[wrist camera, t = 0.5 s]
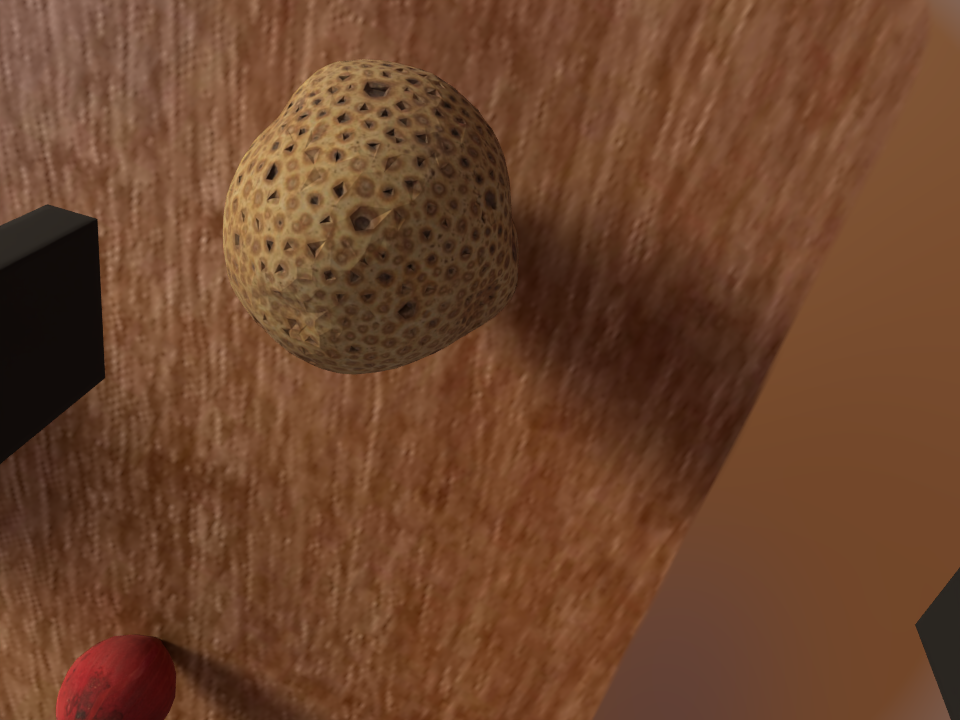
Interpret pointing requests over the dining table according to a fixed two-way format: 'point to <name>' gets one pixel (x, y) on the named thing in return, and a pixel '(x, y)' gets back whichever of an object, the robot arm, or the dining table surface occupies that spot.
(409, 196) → the natural sponge
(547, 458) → the dining table surface
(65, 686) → the onion
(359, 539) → the dining table surface
